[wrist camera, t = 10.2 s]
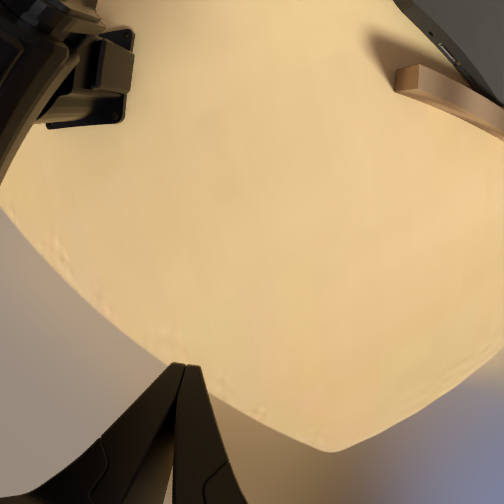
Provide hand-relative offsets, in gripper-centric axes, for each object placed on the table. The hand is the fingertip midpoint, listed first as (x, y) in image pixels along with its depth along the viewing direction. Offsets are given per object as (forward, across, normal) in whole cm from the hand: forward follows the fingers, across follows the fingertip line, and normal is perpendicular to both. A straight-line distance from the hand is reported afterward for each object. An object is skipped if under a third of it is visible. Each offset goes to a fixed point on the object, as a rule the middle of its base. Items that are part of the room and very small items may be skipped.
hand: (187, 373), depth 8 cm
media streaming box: (+13, -18, -22) cm, 31 cm away
